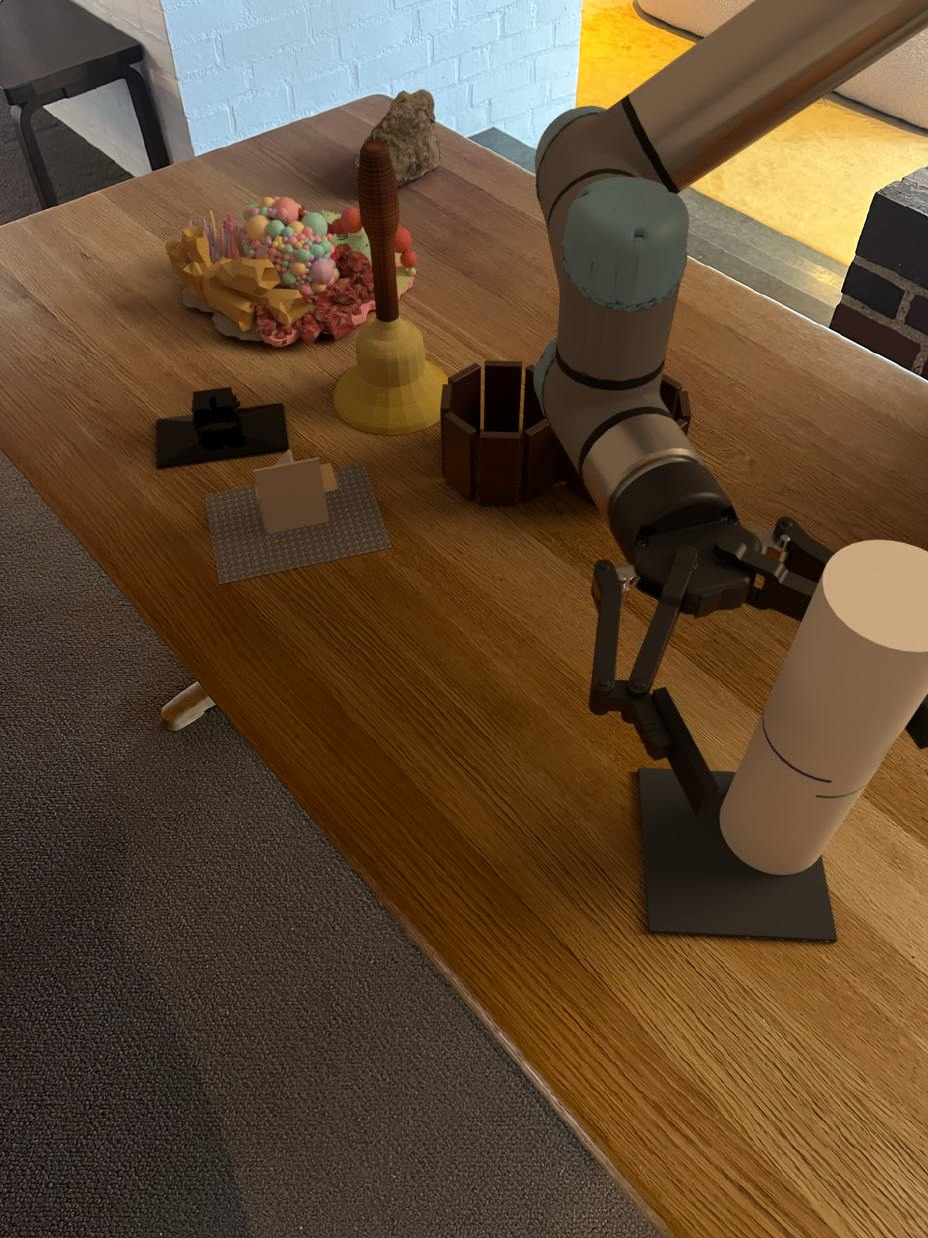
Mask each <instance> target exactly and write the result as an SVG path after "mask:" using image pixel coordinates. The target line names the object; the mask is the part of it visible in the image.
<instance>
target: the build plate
mask: <svg viewBox="0 0 928 1238" xmlns="http://www.w3.org/2000/svg"><path fill="white" fill-rule="evenodd" d="M241 405H242V404H241V401H240V400H238V396H237V394H234V392H233V387H232V386H227V387H218V388H209V389H203V390H195V391H192V400H191V407H190V410H191V414H185V415H177V416H170V417H164V418H163V417H162V418H157V419H156V467H157V469H158V470H161V469H162V470H163V469H169V468H177V467H183V466H192V465H196V464H197V465H198V464H207V463H212V462H220V461H226V460H234V459H235V460H236V459H241V458H249V457H255V456H263V455H271V454H279V453H285V452H286V451H287V450H289V449H290V443H289V435H288V428H287V421H286V420H287V419H286V414H285V413H286V412H285V405H284V403H283V402H277V403H267V404H261V405H255V406H246V407H241Z"/></svg>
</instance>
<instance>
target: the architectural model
mask: <svg viewBox="0 0 928 1238" xmlns="http://www.w3.org/2000/svg"><path fill="white" fill-rule="evenodd" d="M252 472H253V478H254V482H255V484H252V485H248V486H242V487H237V488H233V489H226V490H222V491H216V492H211V493H206V494H204V495H203V496H204V501H205V506H206V507H205V508H206V512H207V519H208V525H209V530H210V538H211V542H212V543H211V544H212V549H213V554H214V561H215V565H216V572H217V578H218V584H219V585H223V584H229V583H233V582H237V581H242V580H248V579H251V578H252V579H253V578H256V577H261V576H267V575H270V574H271V575H272V574H275V573H279V572H284V571H289V570H293V569H298V568H302V567H307V566H313V565H318V564H322V563H327V562H331V561H335V560H340V559H341V560H342V559H345V558H349V557H355V556H359V555H363V554H368V553H373V552H378V551H383V550H388V549H392V548H393V546H392V543H391V539H390V537H389V533H388V531H387V527H386V525H385V521H384V519H383V516H382V513H381V509H380V506H379V504H378V501H377V497H376V494H375V491H374V488H373V485H372V482H371V479H370V476H369V473H368V470H367V467H366V464H365V463H364V462H363V463H359V464H354V465H349V466H344V467H343V466H342V467H339V468H338V467H337V468H334V469H333V466H332V462H328V463H323V464H321V462H320V457H319V456H318V457H316V455H313V456H312V457H311V458H307V459H302V460H297V461H294V456H293V453H292V449H291V448H289V450H287V451H286V452H284V453H283V455H282V456H281V457H280V458H279V459H278V460H277V462H275V463H274V465H272V466H267V467H266V466H265V467H261V468H255V469H252Z"/></svg>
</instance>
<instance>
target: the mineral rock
mask: <svg viewBox="0 0 928 1238" xmlns="http://www.w3.org/2000/svg"><path fill="white" fill-rule="evenodd" d="M435 105H436V104H435V99H434V97H433V95H432V93H431V92H430V91H427V90H426V89H424V88H421V89H418V90H416V91H414V92H413V93H409V92H408V91H406V90H405V89H404V90H401V91H399V92H398V94H397V95H396V96H395V98H394V99H393V100H392V101H391V102H390V106H389V110H388V111H387V112H386V114H385V116H384V117H383V118H381V120H380V121H379V122H378V123H377V124H376V125H375V126H374V127H373V129H372V130H371V132H370V134H369V136H367V138H365V140H364V141H363V144H364V143H365V142H367V141H369V140H380V141H383V142H384V143H385V144H386V145H387V146H388V148H389V152H390V156H391V160H392V164H393V168H394V171H395V175H396V179H397V186H398V187H401V186H404V185H405V184H406V183H409V182H411V181H413V180H416V179H418V178H421V177H423V176H424V175H425V174H426V173H428V172H432V170H433V169H436V168H437V167H439V165H440V163H441V162H442V161H441V151H440V144H441V142H440V140H439V138H438V135H437V133H436V128H435V127H436V126H435V123H436V115H435ZM359 161H360V151H359V152H358V153H357V155H356V158H355V165H356V167H357V170H358V171H359ZM358 171H357V172H358Z"/></svg>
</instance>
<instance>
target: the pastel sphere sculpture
mask: <svg viewBox="0 0 928 1238" xmlns="http://www.w3.org/2000/svg"><path fill="white" fill-rule="evenodd" d="M242 217H243V219H244V220H245V221H246V223H245V224H243V226H242V227H239V226H238V224H237V223H236V222H235V221H234V222H233V219H232V216H231V215H230V213H229V212H227V214H226V220H223V221H218V225H216V223H215V217H214V213H213V211H212V210H209V224H207V221H206V219H205V216H204V215H203V216H202V224H201V226H199V227H195V226H193V222H192V221H193V220H192V217H190V218H189V220H188V223H187V224H186V228H183V229H182V230H181V239H180V241H177V240H175V239H171V238H168V240H167V242H166V243H165V245H164V248H165V251H166V253H167V256H168V259H169V261H170V262H171V265H172V268H173V270H174V271H176V273H177V274H178V276H179V278H180V280H181V282H182V283H183V284H184V288H183V291H182V292H181V294H180V298H183V300H182V303H183V304H184V305H185V306H186V308H187V307H188V308H193V309H194V308H195V309H199V310H200V311H201V312H205V313H213V316H212V318H211V320H212V322H213V323H214V328H215V329H216V330H218V331H219V332H220V333H221V334H222V335H223V336H226V337H227V336H228V337H236V338H238V339H240V340H243V341H254V342H260V341H261V342H262V341H263V342H264V343H266V344H269V345H272V346H273V347H275V348H281V347H285V346H287V345H290V344H292V343H295V342H296V341H297V339H301V340H302V341H303V343H304V344H305V345H306V347H307V348H308V349H310V348H311V347H312V345H313V344H314V343H315V341H316V339H317V338H318V337H319V335H320V333H322V334H324V335H332V336H333V338H334V339H335V341H338V340H340V339H341V338H343V337H345V336H346V335H348V334H349V333H351V332H352V331H354V330H355V329H357V326H358V325H360V324H361V323H364V322H365V321H366V320H367V316H368V313H369V311H372V310H373V311H376V308H375V296H374V285H373V274H372V263H371V251H370V245H369V241H368V238H367V235H366V233H365V231H364V228H363V226H362V223H361V217H360V209H359V208H355V207H347V208H345V209H344V210H342V212H341V213H339V212H337V213H335V212H334V211H330V210H324V208H323V209H322V210H321V211H315V212H314V211H310V212H309V211H307V208H306V207H305V206H304V205H302V204H301V203H297V202H296V201H295V200H294V199H293V198H290V197H287V196H282V197H280V196H279V195H278V196H277V195H276V196H273V197H270V196H264V197H263V198H262V199H261V201H260V204H258V203H251V204H248V205H247V206H246V207H244V208H243V211H242ZM232 222H233V223H234V224H233V223H232ZM208 225H209V226H208ZM216 228H217V230H216ZM217 231H218V234H217ZM412 242H413V240H412V235H411V233H410V231H409V230H408V229H406V228H405V227H401V226H398V228H397V232H396V236H395V262H396V277H397V292H398V301H399V300H400V299H401V295H403V294H405V293H406V292H407V290H409V289H411V288H412V287H413V285H414V281H415V276H416V275H417V270H416V268H414V267H415V266H416V264H417V261H418V258H417V254H416V252H414V251H412V250H410V248H411V246H412Z"/></svg>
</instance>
